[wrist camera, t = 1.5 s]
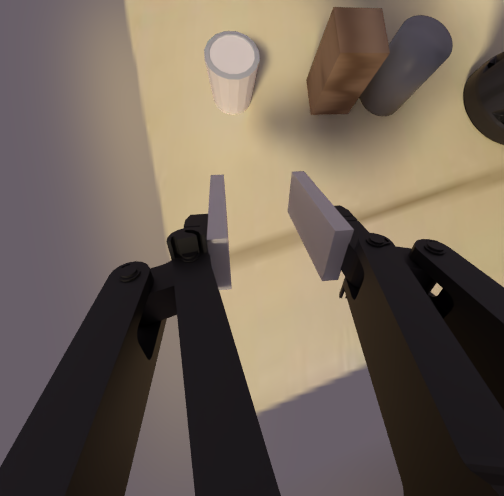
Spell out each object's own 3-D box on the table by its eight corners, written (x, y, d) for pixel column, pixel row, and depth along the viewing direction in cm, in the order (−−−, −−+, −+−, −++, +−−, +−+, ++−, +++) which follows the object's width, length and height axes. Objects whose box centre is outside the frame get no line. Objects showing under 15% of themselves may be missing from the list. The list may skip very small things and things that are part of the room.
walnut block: (342, 79, 37) (381, 8, 28) (347, 113, 37) (389, 53, 27) (306, 80, 37) (333, 7, 27) (310, 114, 36) (340, 52, 26)
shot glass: (257, 82, 36) (263, 35, 29) (251, 122, 35) (256, 83, 28) (213, 74, 36) (208, 24, 29) (206, 114, 35) (199, 73, 28)
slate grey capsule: (397, 76, 38) (446, 15, 29) (404, 115, 37) (457, 64, 29) (356, 77, 38) (395, 14, 29) (362, 116, 37) (404, 64, 28)
